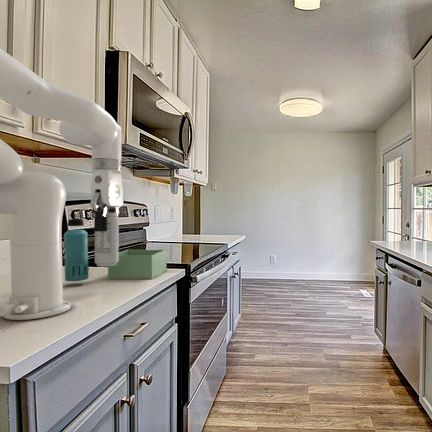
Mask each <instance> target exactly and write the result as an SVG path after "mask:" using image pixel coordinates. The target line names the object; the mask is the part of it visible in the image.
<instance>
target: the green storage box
mask: <svg viewBox="0 0 432 432" xmlns="http://www.w3.org/2000/svg"><path fill="white" fill-rule="evenodd" d="M167 266H168V265H167V249H125V250H123V251H119V261H118V262H117V264H116V265H115V266H107V279H108V280H152V279H154V278H157V276H159V275H161V274H163V273H164V272H166V271H167Z"/></svg>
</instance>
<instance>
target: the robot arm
mask: <svg viewBox="0 0 432 432" xmlns="http://www.w3.org/2000/svg"><path fill="white" fill-rule="evenodd" d="M0 99H1V100H2V101H4V102H6V103H7V104H9V105H11V106H13V107H14V108H16V109H18V110H19V111H21V112H23V113H25V114H27V115H28V116H29V115H30V116H33V117H37V118H42V119H47V120H53V121H54V120H55V121H60V123H59V127H58V130H59V133H60V135H61V137H62V138H63V140H65V141H66V142H67V143H70V144H72V145H76V146H87V147H88V146H89V147H91V172H92V175H91V185H90V202H89V204H90V206H91V208H92V212H93V213H92V214H93V217H94V219H93V222H94V225H93V229H94V232H95V231H107V217H105V216H106V212H116V215H117V217H118V218H119V216H120V210H121V207H122V206H123V207H124V188H123V187H124V186H123V185H124V184H123V179H122V178H123V177H122V164H123V163H122V162H123V161H122V152H123V151H122V145H123V144H122V141H123V139H122V138H123V137H122V127H121V126H120V125H119V124H118V123H117V121H116V120H115V118H114V117H113V116H112V115H111V114H110V113H109V112H108V111H106V109H104V108H103V107H101V106H100V105H99V104H98V103H96V102H95V101H93V100H91V99H90V98H88V97H86V96H83V95H81V94H78V93H75V92H73V91H70V90H68V89H66V88H63V87H61V86H59V85H55V84H52V83H50V82H48V81H46V79H43V78H42V77H41V76H39V75H38V74H36V72H34V71H32V70H31V69H30V68H28V67H27V66H26V65H24V64H23V63H22V62H20V61H19V60H18V59H16V58H14V56H11V54H9V53H8V52H6V51H5V50H4V49H2V48H1V47H0ZM66 191H67V190H66V187H65V185H64V183H63V181H62V180H60V178H59V177H57V176H55V175H53V174H51V173H48V172H44V171H43V172H42V171H24V163H23V160H22V158H21V156H20V154H18V152H17V151H16V150H14V148H13V147H11V146H10V145H9V144H8V143H6V142H5V141H4V140H2V139H1V138H0V215H16V216H15V218H14V219H13V222H12V225H11V227H10V231H9V232H10V233H9V249H10V287H11V288H10V289H11V296H9V298H8V300H9V301H8V303H7V304H3V305H1V306H0V317H3V318H4V319H7V320H12V321H25V320H26V321H27V320H36V319H42V318H48V317H52V316H56V315H60V314H63V313H66V312H67V311H68V310H70V309H71V307H72V302H70V300H66V299H64V285H63V283H64V281H63V279H64V277H63V240H62V239H63V238H62V237H63V235H62V231H63V230H62V229H63V228H62V227H63V226H62V225H63V224H62V223H63V216H64V210H65V207H66V201H67V192H66Z"/></svg>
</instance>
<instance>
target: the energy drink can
mask: <svg viewBox="0 0 432 432" xmlns="http://www.w3.org/2000/svg"><path fill="white" fill-rule="evenodd" d="M105 217H107V231H95V230H94V263H95V264H96V266H97V267H100V268H101V267H102V268H103V267H106V268H107V267H108V266H115V265H116V264H117V262H118V261H119V252H120V250H119V248H120V247H119V245H120V243H119V242H120V240H119V236H120V235H119V233H120V225H119V223H120V221H119V218H120V217H119V216H118V217H117V215H116V212H107V211H106V216H105Z"/></svg>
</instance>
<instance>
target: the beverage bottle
mask: <svg viewBox="0 0 432 432" xmlns="http://www.w3.org/2000/svg"><path fill="white" fill-rule="evenodd" d="M67 227H84V219H83V218H71V219H68V220H67ZM88 235H89V234H88V232H87V231H86V230H84V229H68V230H67V231H66V232H64V234H63V239H64V242H63V244H64V280H65V282H70V283H71V282H82V281H86V280H88V279H89V272H90V270H89V269H90V267H89V240H88V239H89V238H88Z"/></svg>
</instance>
